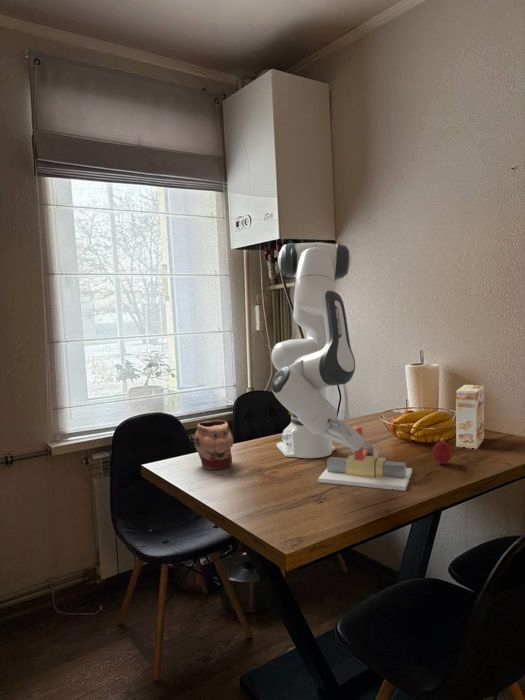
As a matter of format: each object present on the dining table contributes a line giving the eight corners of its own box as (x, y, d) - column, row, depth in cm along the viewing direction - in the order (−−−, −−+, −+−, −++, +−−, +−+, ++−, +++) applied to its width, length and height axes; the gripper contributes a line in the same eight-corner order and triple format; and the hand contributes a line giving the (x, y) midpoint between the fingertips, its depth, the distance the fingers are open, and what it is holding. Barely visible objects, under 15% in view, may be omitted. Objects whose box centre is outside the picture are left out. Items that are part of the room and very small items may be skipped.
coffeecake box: (477, 449, 174) (477, 391, 172) (455, 447, 178) (454, 390, 176) (485, 438, 187) (485, 385, 185) (464, 436, 190) (463, 384, 189)
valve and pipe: (326, 477, 152) (325, 452, 151) (331, 470, 157) (330, 447, 157) (403, 484, 143) (403, 458, 143) (406, 477, 149) (406, 452, 148)
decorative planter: (186, 460, 174) (184, 419, 173) (219, 454, 180) (217, 414, 179) (208, 476, 157) (206, 430, 156) (245, 469, 162) (243, 425, 161)
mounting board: (318, 482, 148) (318, 478, 148) (332, 465, 162) (332, 461, 162) (405, 490, 138) (405, 486, 138) (412, 472, 153) (412, 468, 153)
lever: (359, 449, 153) (358, 418, 152) (374, 450, 151) (373, 418, 150) (349, 461, 141) (348, 428, 140) (365, 463, 139) (365, 429, 138)
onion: (453, 467, 156) (453, 441, 156) (433, 466, 158) (433, 440, 157) (450, 461, 162) (450, 436, 161) (431, 461, 163) (431, 436, 163)
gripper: (348, 414, 126) (383, 448, 131) (309, 401, 145) (340, 431, 150) (333, 434, 125) (368, 468, 130) (295, 419, 144) (327, 449, 148)
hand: (353, 448), depth 140 cm, fingers closed, pressing on lever
